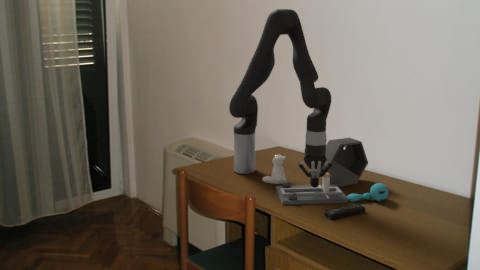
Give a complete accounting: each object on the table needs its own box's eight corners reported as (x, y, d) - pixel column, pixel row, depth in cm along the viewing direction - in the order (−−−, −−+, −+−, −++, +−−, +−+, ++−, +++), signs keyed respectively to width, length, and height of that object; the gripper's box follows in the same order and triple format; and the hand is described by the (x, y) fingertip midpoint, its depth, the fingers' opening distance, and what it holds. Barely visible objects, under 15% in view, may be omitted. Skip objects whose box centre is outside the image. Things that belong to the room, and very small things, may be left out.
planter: (321, 178, 193) (347, 132, 194) (310, 172, 200) (335, 128, 201) (350, 195, 201) (375, 151, 202) (338, 189, 208) (363, 146, 209)
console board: (275, 189, 195) (275, 181, 194) (336, 187, 197) (336, 179, 196) (282, 204, 180) (282, 195, 179) (347, 202, 182) (348, 193, 181)
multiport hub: (365, 213, 172) (366, 207, 172) (331, 221, 166) (332, 215, 165) (357, 209, 176) (357, 203, 176) (323, 217, 170) (324, 210, 169)
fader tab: (321, 189, 190) (322, 172, 188) (327, 188, 190) (328, 172, 188) (323, 192, 187) (324, 175, 185) (329, 191, 187) (330, 175, 185)
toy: (352, 210, 178) (393, 199, 177) (347, 192, 178) (388, 181, 177) (348, 208, 189) (387, 197, 188) (343, 191, 190) (382, 180, 189)
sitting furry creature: (279, 177, 210) (280, 149, 207) (293, 182, 203) (293, 154, 200) (261, 181, 205) (261, 153, 202) (274, 187, 198) (275, 158, 195)
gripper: (331, 139, 188) (329, 183, 192) (296, 140, 187) (294, 184, 191) (336, 144, 180) (334, 189, 184) (299, 145, 179) (298, 190, 183)
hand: (314, 186), depth 188 cm, fingers closed
